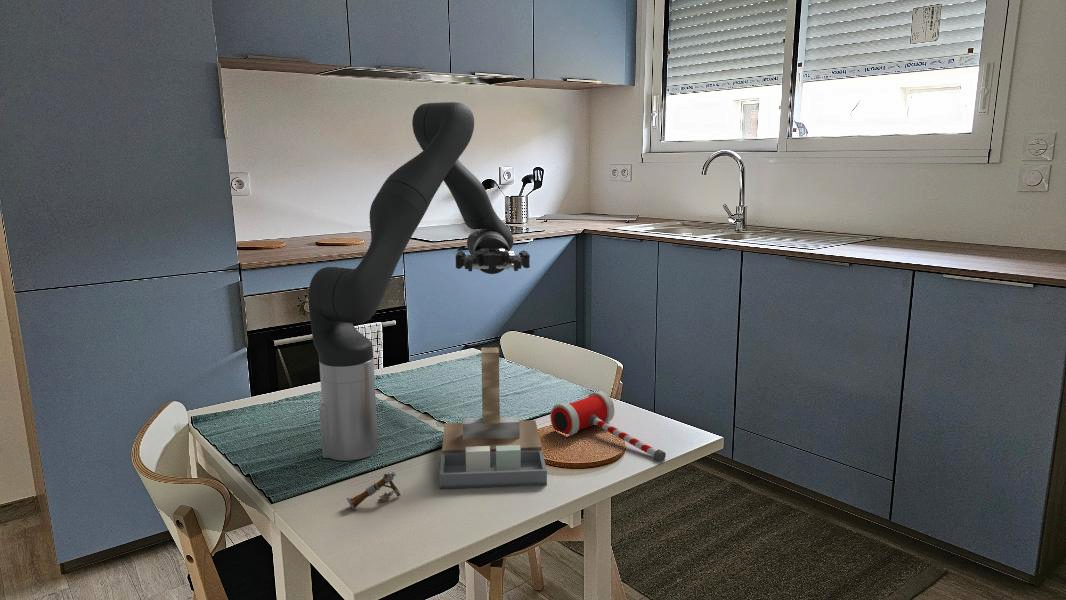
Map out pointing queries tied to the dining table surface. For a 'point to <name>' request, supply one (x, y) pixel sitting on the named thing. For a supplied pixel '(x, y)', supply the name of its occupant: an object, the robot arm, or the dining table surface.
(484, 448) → the tile
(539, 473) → the tray
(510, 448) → the tile
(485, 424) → the scraper
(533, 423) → the board
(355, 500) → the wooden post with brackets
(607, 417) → the toy hammer
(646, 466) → the dining table surface
